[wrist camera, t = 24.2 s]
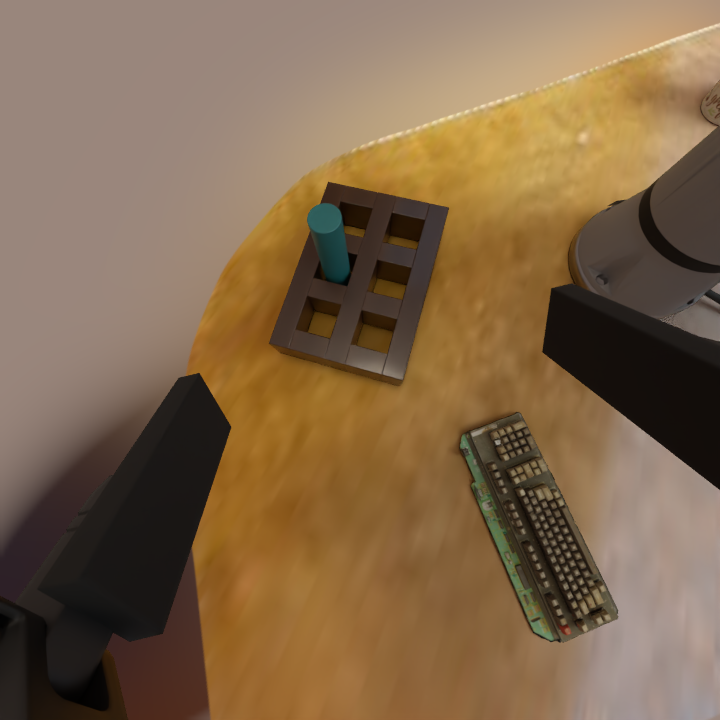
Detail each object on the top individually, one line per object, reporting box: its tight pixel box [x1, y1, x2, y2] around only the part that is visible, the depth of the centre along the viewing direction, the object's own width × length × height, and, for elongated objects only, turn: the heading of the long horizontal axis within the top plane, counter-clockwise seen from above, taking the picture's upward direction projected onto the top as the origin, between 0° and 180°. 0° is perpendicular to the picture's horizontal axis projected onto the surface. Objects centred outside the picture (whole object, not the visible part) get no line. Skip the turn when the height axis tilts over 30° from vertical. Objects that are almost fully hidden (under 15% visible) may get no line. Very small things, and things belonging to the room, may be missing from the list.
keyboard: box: [459, 412, 618, 642], centre depth 32 cm, size 22×9×2 cm, turn 20°
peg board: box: [269, 182, 449, 386], centre depth 38 cm, size 16×22×4 cm
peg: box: [307, 203, 351, 286], centre depth 34 cm, size 3×3×13 cm
